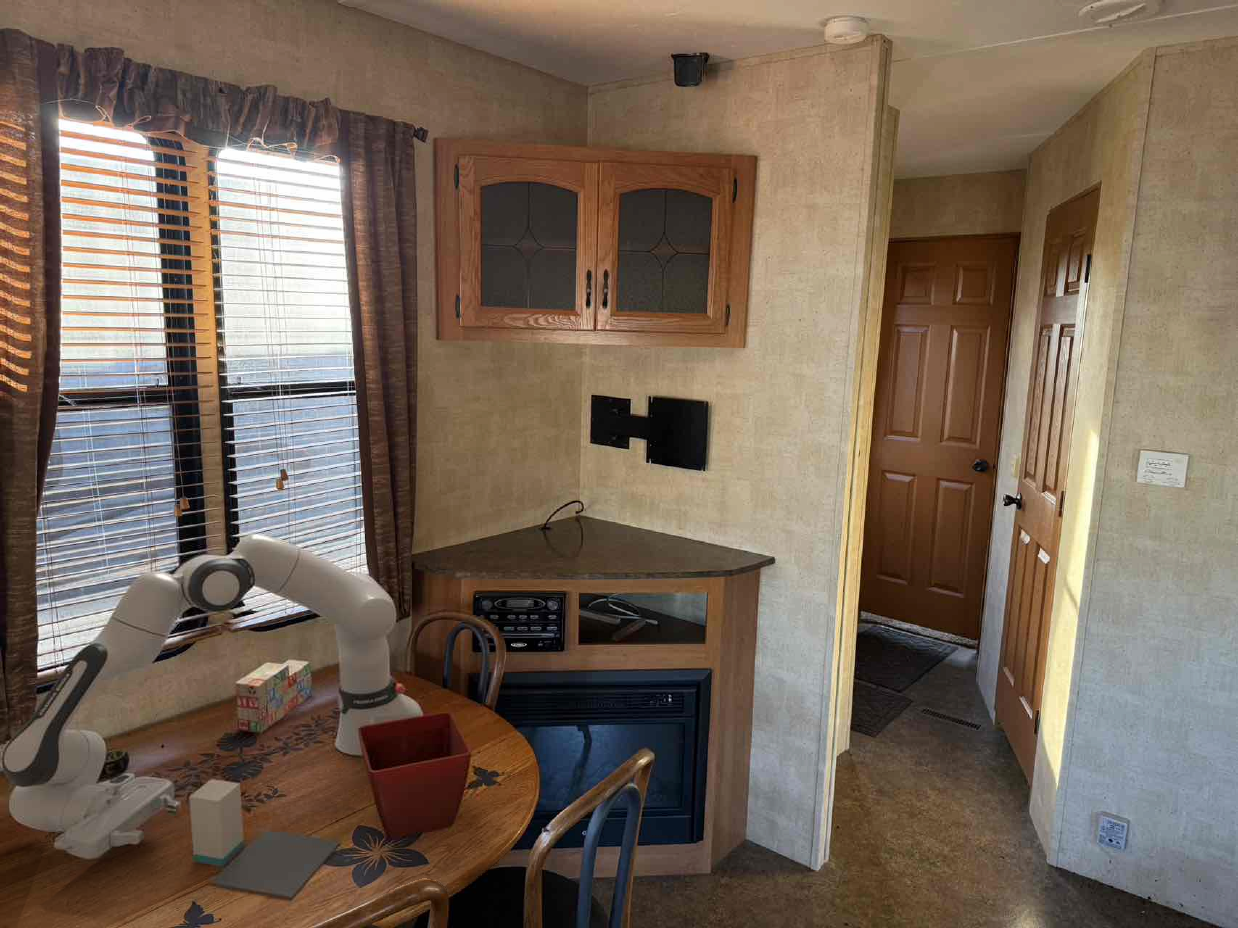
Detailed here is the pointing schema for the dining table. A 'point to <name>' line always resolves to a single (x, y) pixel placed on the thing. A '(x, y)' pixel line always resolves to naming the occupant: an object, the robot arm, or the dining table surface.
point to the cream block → (216, 822)
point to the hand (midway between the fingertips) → (159, 822)
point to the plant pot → (416, 772)
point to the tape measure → (115, 762)
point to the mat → (276, 864)
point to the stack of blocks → (271, 693)
